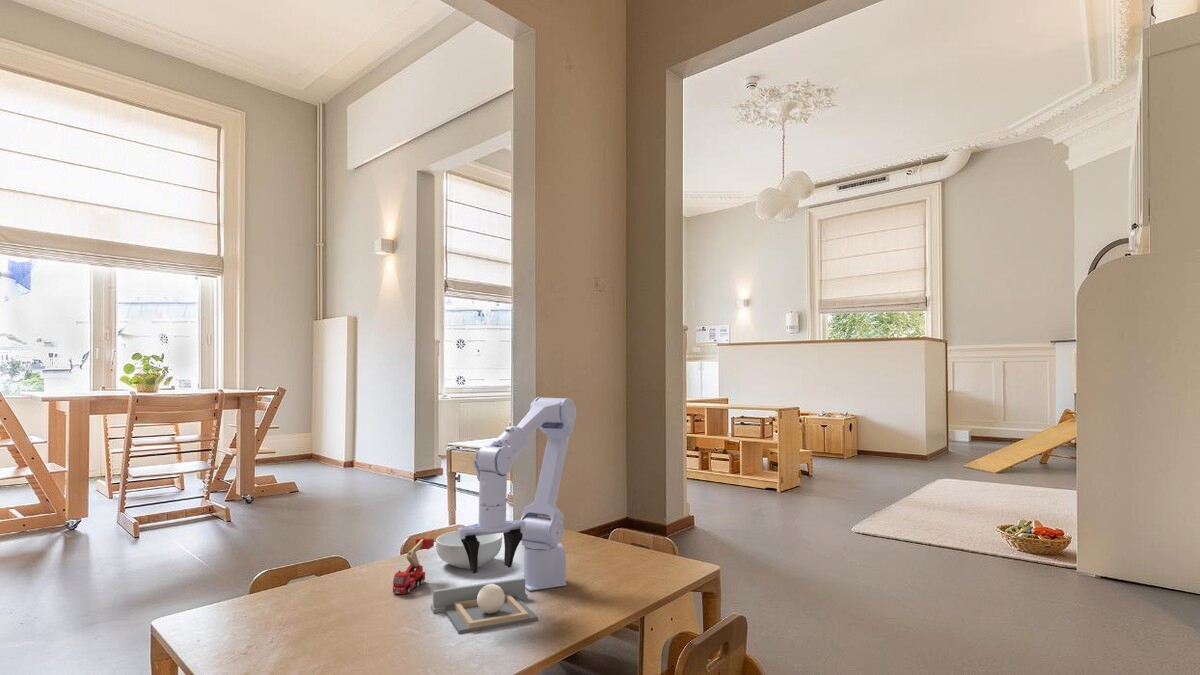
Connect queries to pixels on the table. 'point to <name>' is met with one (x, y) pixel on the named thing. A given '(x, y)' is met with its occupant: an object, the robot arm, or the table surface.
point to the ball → (490, 598)
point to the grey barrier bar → (474, 593)
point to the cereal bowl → (456, 554)
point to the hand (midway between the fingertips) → (491, 569)
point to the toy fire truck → (412, 569)
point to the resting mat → (488, 615)
